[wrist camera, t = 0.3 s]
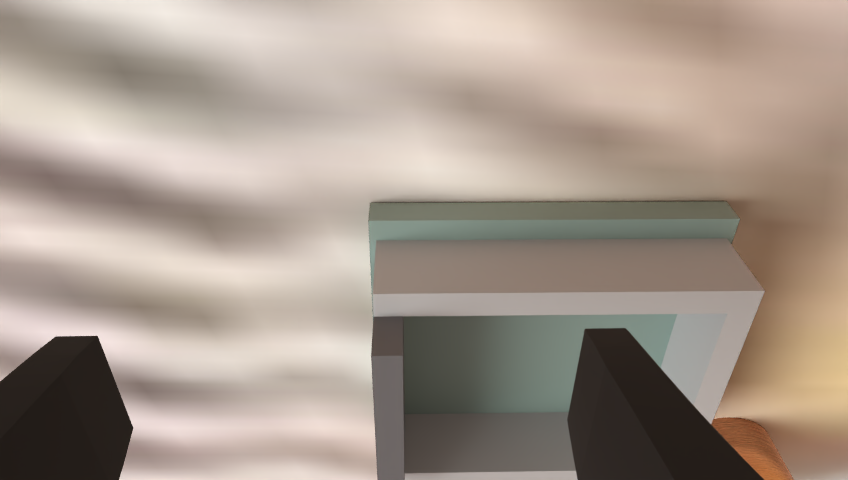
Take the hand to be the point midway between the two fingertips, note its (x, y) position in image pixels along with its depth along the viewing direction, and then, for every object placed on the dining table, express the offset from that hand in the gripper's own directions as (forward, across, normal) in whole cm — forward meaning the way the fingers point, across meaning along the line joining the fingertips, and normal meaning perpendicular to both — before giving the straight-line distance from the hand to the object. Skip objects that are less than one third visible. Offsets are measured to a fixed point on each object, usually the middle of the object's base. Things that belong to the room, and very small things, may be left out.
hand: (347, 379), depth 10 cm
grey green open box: (+10, -5, +8) cm, 14 cm away
